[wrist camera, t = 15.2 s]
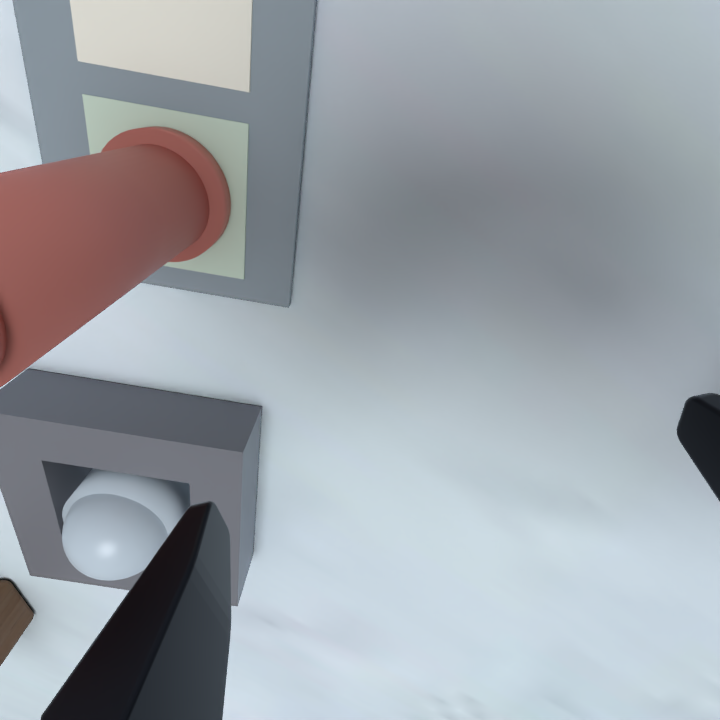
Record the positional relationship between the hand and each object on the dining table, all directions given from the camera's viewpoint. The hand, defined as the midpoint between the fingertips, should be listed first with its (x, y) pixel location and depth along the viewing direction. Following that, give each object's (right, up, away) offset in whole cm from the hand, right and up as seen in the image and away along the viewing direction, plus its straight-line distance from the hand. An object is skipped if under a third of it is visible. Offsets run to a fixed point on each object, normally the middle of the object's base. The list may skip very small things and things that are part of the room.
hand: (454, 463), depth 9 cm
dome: (-14, -5, +17) cm, 22 cm away
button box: (-14, -5, +18) cm, 23 cm away
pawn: (-9, +8, +9) cm, 16 cm away
